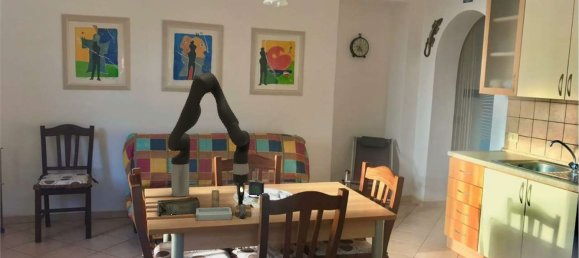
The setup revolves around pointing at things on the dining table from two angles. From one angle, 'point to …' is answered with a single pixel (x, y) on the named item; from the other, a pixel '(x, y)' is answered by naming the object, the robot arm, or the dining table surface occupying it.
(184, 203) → the beverage carton
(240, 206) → the stop post
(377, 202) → the dining table surface
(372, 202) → the dining table surface
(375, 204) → the dining table surface
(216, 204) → the tan cylinder
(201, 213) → the tray
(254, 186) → the flask
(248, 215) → the tan flat block
